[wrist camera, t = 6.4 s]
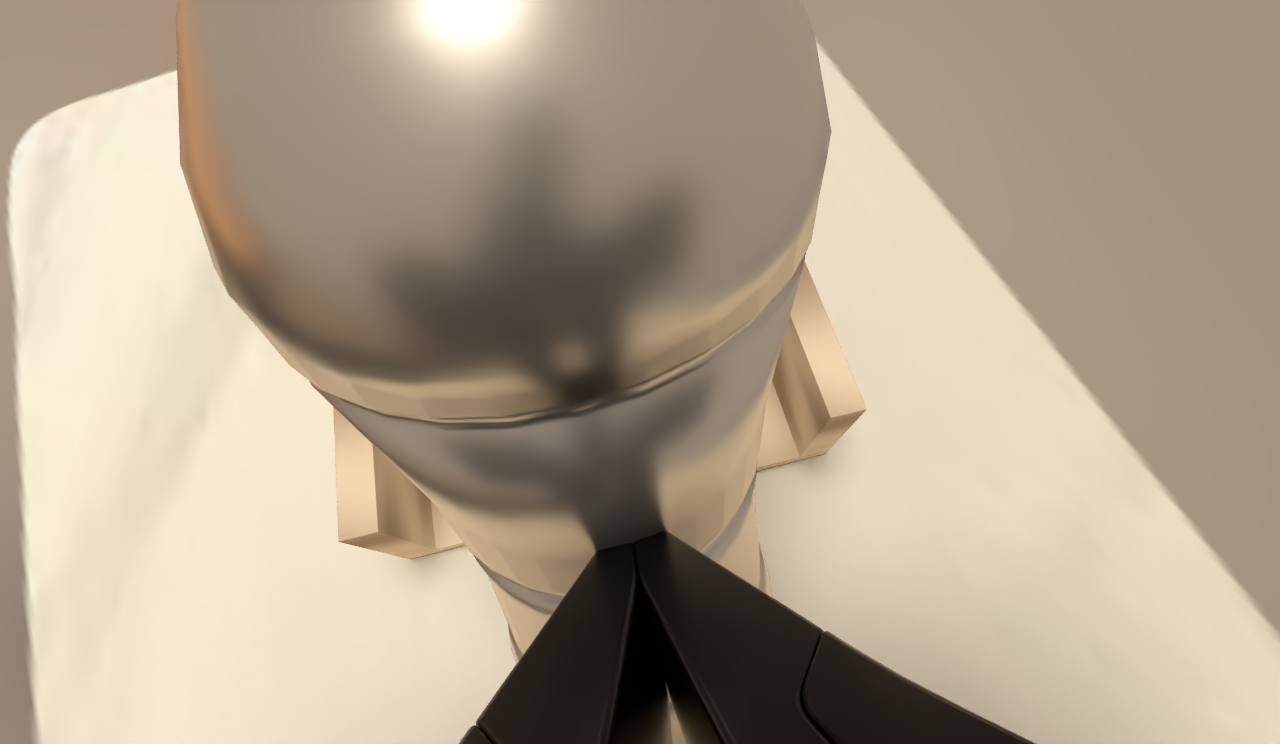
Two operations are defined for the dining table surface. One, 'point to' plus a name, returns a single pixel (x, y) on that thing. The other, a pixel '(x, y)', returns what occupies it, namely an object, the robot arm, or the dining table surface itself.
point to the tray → (792, 430)
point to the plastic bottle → (522, 250)
